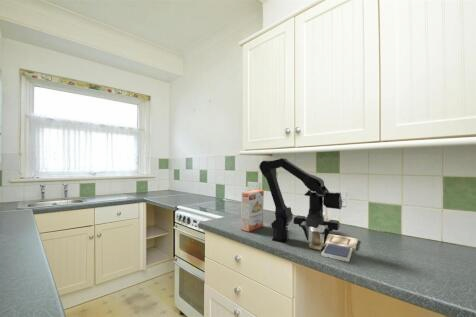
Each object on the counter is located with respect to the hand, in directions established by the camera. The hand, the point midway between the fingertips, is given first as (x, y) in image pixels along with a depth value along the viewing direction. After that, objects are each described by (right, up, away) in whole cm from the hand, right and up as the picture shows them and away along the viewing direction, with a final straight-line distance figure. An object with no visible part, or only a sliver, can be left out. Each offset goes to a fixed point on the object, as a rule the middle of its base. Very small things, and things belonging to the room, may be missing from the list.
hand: (316, 241), depth 102 cm
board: (+13, -2, +6) cm, 15 cm away
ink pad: (+7, -2, -7) cm, 10 cm away
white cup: (+8, -3, +23) cm, 25 cm away
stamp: (0, -3, 0) cm, 3 cm away
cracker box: (-26, -3, +28) cm, 38 cm away
